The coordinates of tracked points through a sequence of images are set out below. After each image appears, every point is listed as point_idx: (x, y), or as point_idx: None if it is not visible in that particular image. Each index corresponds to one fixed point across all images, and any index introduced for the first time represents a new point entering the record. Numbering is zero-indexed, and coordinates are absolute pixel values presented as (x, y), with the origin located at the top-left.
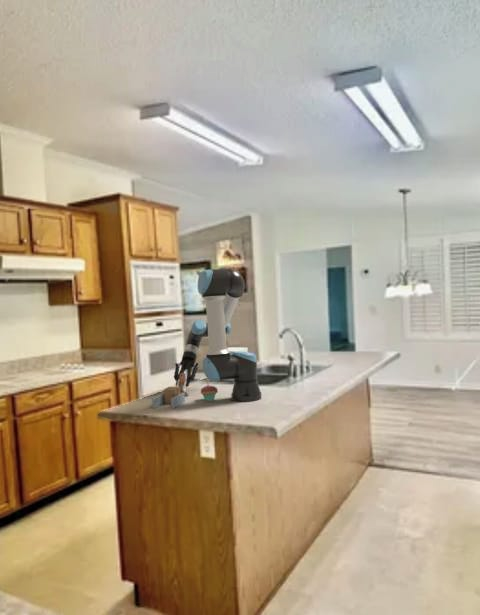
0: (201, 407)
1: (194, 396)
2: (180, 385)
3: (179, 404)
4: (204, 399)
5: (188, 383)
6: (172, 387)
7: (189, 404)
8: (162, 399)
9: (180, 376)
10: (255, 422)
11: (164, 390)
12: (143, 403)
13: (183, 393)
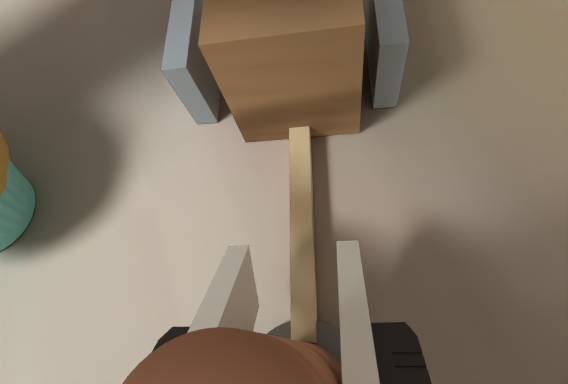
0: (45, 16)
1: None
2: (314, 347)
3: None
4: (31, 188)
5: None
6: (289, 6)
7: (138, 61)
8: (366, 5)
9: (272, 337)
10: None
11: None
12: (560, 14)
13: (165, 50)
